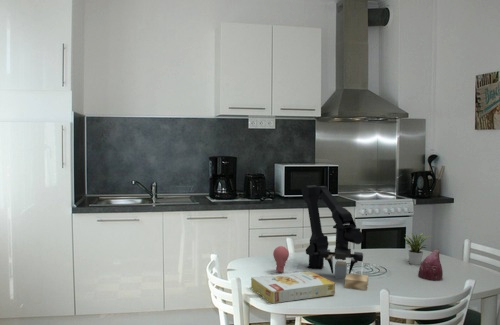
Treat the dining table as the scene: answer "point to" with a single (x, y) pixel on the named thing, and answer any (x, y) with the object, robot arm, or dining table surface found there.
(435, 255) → the vegetable
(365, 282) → the block
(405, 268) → the dining table surface
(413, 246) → the house plant
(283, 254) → the light bulb
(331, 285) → the cereal box
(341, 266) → the grey box
